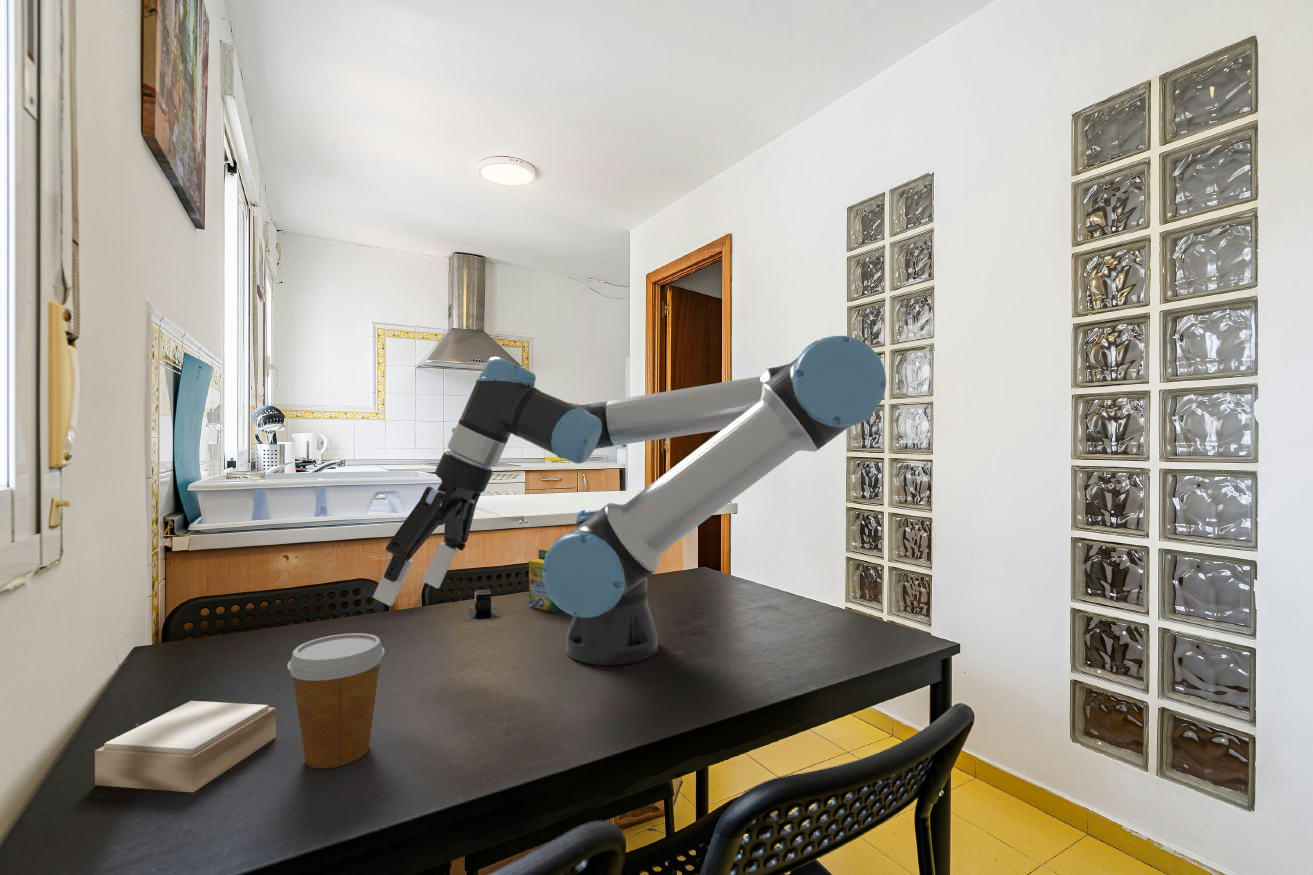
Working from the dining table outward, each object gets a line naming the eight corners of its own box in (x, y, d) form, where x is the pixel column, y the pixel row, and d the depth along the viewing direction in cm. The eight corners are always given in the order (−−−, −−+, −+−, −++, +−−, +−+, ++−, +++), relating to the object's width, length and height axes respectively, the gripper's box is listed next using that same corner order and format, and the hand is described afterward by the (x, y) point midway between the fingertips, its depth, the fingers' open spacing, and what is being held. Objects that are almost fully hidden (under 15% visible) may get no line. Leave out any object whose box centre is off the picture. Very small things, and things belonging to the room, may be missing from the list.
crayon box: (528, 607, 125) (528, 551, 125) (538, 603, 127) (538, 548, 127) (553, 613, 121) (553, 555, 121) (564, 609, 123) (564, 552, 123)
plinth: (275, 737, 71) (275, 703, 71) (193, 792, 60) (193, 751, 60) (190, 732, 72) (190, 698, 72) (95, 784, 61) (94, 745, 61)
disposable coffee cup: (313, 734, 72) (313, 632, 72) (396, 731, 72) (396, 630, 72) (268, 779, 62) (268, 662, 62) (365, 775, 63) (365, 660, 63)
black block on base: (504, 621, 117) (503, 598, 117) (464, 625, 114) (464, 601, 114) (498, 605, 129) (498, 583, 129) (462, 608, 126) (462, 586, 126)
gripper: (481, 453, 102) (427, 568, 101) (404, 443, 77) (332, 596, 76) (520, 471, 101) (466, 588, 100) (455, 467, 76) (382, 623, 75)
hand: (408, 592), depth 88 cm, fingers open, 13 cm apart
